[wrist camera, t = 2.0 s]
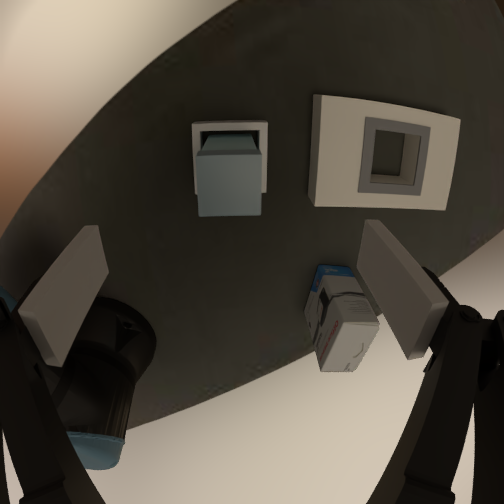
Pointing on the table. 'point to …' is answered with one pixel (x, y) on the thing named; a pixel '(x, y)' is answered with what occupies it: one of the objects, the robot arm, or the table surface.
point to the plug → (229, 176)
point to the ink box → (339, 319)
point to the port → (361, 155)
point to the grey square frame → (232, 125)
